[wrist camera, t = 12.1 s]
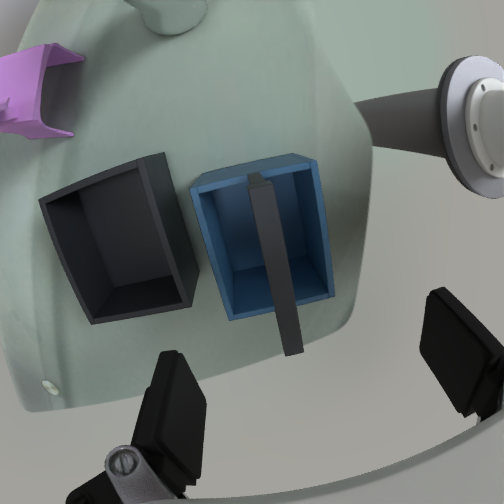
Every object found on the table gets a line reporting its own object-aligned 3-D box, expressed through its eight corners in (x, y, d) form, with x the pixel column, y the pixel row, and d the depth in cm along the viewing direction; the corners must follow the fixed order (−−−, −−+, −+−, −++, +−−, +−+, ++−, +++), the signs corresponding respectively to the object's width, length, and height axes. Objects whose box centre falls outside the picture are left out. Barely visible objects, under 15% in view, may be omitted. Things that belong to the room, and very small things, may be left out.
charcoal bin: (164, 151, 25) (143, 157, 19) (199, 271, 29) (191, 307, 23) (74, 184, 25) (37, 199, 19) (113, 290, 30) (91, 325, 24)
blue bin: (293, 153, 25) (345, 169, 13) (311, 256, 29) (358, 337, 17) (202, 173, 26) (172, 208, 14) (229, 275, 30) (228, 368, 17)
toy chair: (94, 51, 20) (-3, 8, 6) (82, 136, 23) (-29, 151, 9) (33, 63, 19) (-66, 47, 5) (23, 139, 22) (-81, 161, 8)
